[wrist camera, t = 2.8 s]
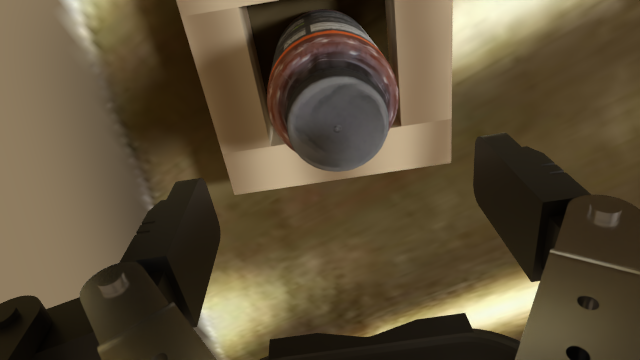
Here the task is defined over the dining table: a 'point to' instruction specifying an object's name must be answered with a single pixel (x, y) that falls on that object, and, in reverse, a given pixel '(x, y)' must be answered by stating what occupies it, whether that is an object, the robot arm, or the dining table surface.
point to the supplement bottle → (331, 91)
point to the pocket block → (251, 101)
